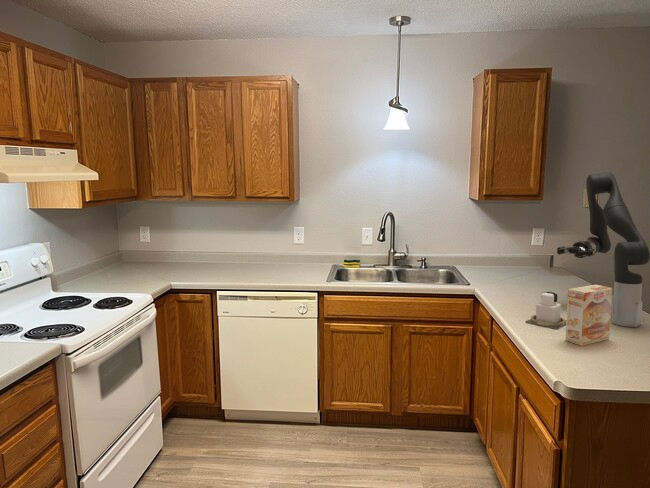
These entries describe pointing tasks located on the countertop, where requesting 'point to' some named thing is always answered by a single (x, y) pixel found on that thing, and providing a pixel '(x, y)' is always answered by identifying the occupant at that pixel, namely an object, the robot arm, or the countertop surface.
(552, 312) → the medicine bottle
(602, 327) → the coffeecake box
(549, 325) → the ring seat
